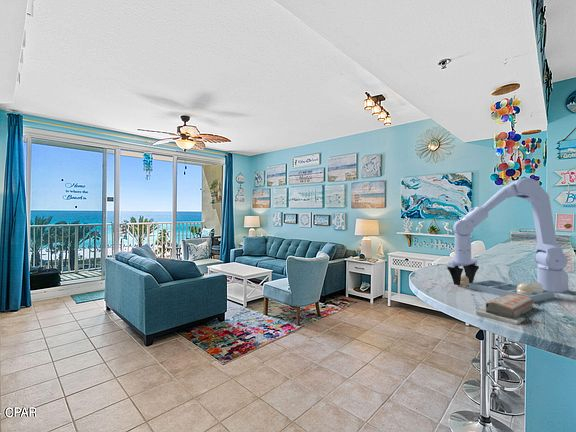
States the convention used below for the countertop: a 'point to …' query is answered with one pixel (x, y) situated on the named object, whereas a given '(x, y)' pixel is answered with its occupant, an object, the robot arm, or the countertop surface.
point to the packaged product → (507, 308)
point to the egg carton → (507, 290)
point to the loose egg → (464, 281)
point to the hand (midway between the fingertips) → (463, 283)
